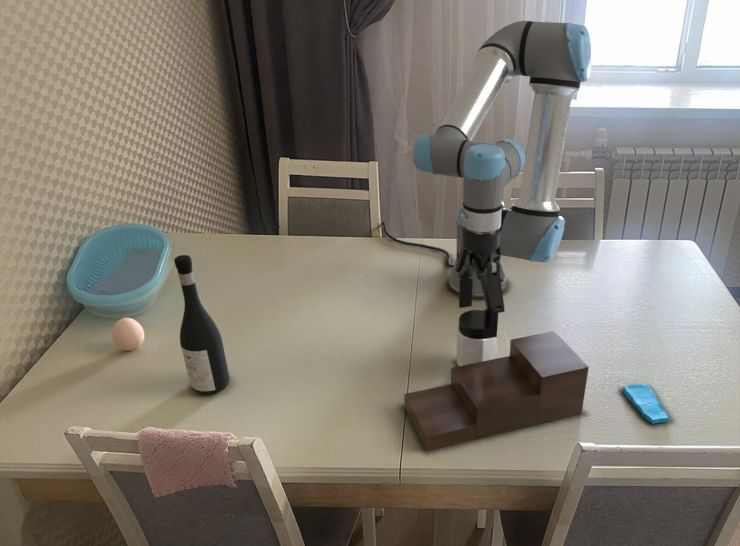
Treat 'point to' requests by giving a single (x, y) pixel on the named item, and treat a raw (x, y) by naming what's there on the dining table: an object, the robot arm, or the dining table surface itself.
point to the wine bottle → (200, 338)
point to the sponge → (646, 402)
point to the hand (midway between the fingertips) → (477, 321)
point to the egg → (128, 334)
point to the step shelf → (502, 393)
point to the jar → (474, 339)
